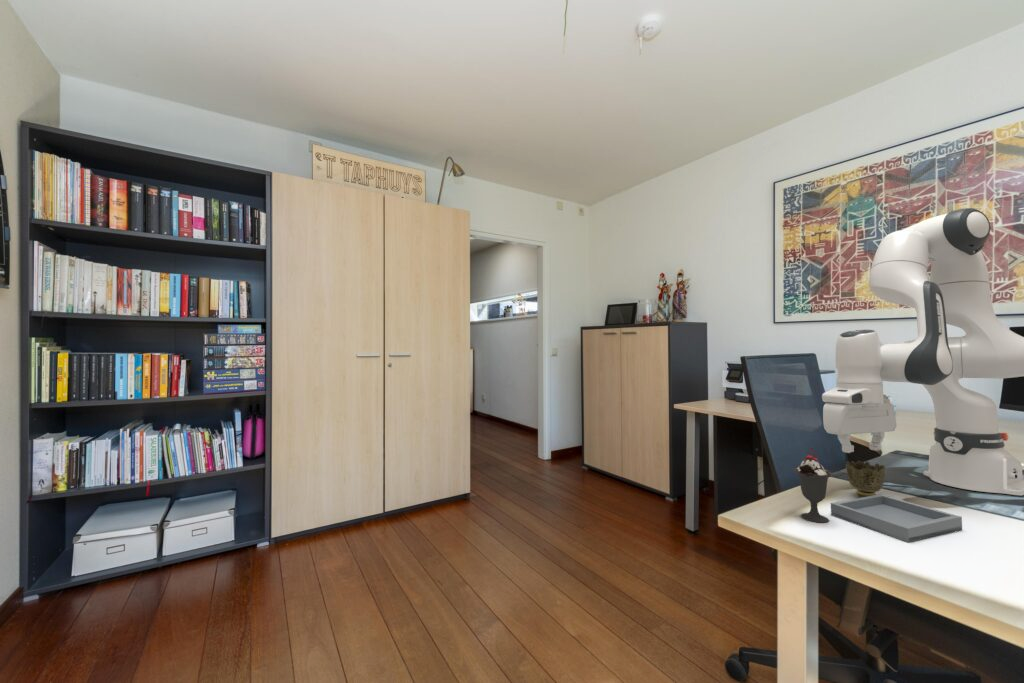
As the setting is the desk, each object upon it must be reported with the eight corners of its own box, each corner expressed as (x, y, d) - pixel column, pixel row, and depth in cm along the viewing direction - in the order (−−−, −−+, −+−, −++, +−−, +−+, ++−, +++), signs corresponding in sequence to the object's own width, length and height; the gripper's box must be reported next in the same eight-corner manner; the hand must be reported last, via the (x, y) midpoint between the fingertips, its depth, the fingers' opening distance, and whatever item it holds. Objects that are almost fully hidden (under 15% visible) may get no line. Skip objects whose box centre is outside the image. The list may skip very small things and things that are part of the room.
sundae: (820, 512, 92) (817, 445, 92) (841, 524, 85) (838, 452, 85) (789, 511, 92) (786, 445, 93) (807, 524, 86) (804, 452, 86)
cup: (839, 494, 102) (838, 462, 103) (857, 490, 105) (855, 458, 105) (876, 504, 95) (874, 470, 96) (893, 499, 98) (891, 465, 99)
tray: (881, 505, 95) (880, 494, 95) (962, 530, 81) (961, 516, 81) (831, 514, 90) (830, 503, 90) (908, 542, 77) (907, 528, 77)
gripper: (874, 393, 107) (876, 446, 107) (816, 394, 101) (818, 451, 101) (903, 394, 101) (906, 451, 100) (843, 396, 95) (846, 456, 95)
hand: (861, 451), depth 101 cm, fingers open, 8 cm apart
